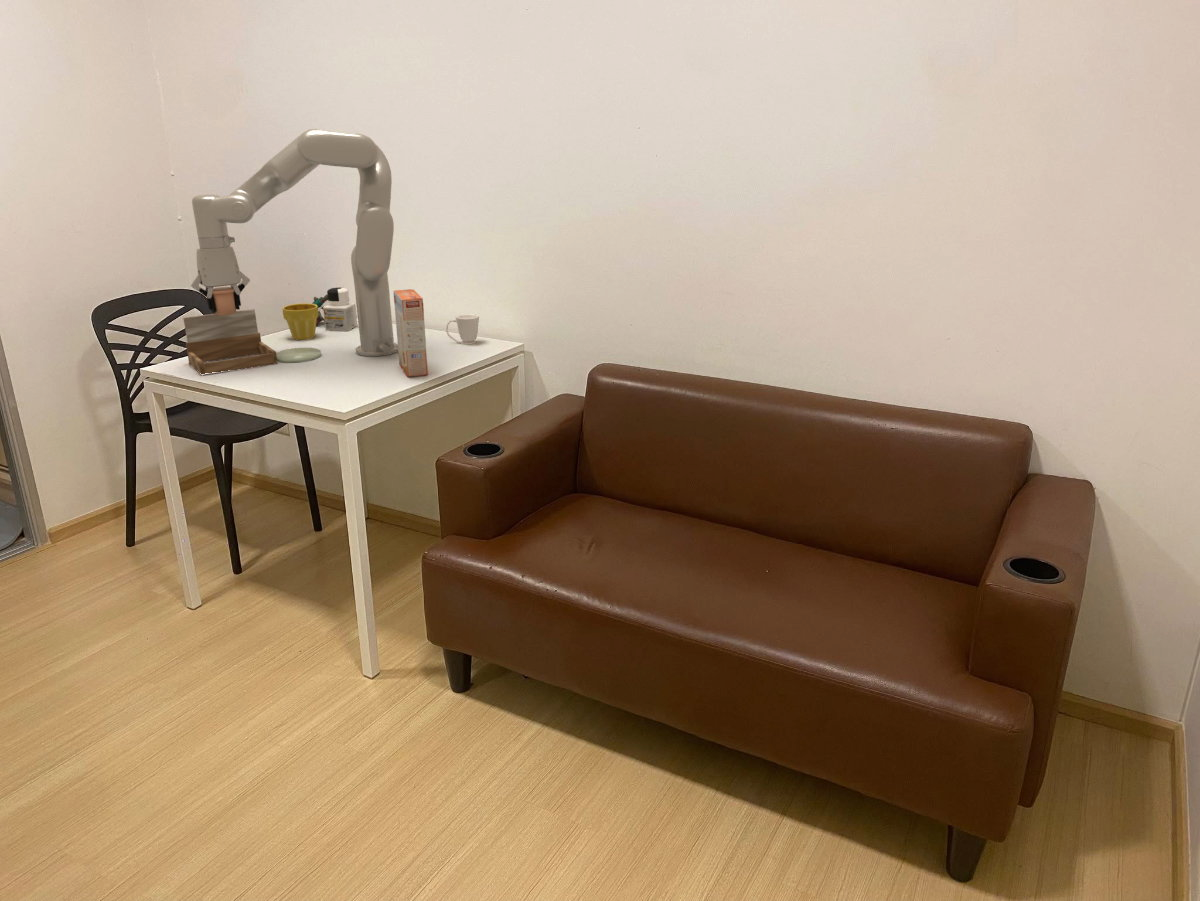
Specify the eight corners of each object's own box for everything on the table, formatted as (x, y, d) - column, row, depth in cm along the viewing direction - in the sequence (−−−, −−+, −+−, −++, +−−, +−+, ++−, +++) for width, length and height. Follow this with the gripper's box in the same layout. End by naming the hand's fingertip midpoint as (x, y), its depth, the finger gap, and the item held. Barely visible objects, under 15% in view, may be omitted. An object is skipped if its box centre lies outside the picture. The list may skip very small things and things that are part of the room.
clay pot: (240, 313, 242) (236, 289, 240) (216, 316, 239) (212, 292, 237) (234, 309, 247) (230, 286, 245) (211, 312, 244) (207, 288, 241)
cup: (479, 345, 266) (478, 318, 263) (446, 346, 265) (444, 319, 262) (481, 339, 273) (479, 313, 270) (448, 340, 272) (446, 314, 269)
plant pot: (315, 341, 271) (311, 310, 268) (281, 341, 272) (277, 310, 268) (325, 333, 281) (321, 303, 278) (293, 333, 281) (289, 303, 278)
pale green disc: (327, 357, 253) (327, 354, 253) (282, 365, 246) (281, 361, 246) (312, 348, 263) (312, 345, 263) (268, 355, 256) (267, 352, 256)
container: (325, 330, 285) (320, 290, 280) (335, 325, 292) (331, 285, 287) (347, 331, 284) (343, 291, 279) (358, 326, 291) (353, 286, 286)
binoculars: (324, 327, 298) (304, 303, 295) (346, 312, 297) (326, 287, 294) (318, 334, 290) (298, 309, 286) (341, 318, 289) (321, 293, 285)
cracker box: (429, 375, 236) (423, 297, 228) (406, 378, 234) (400, 299, 226) (420, 362, 248) (414, 288, 241) (398, 364, 246) (392, 289, 239)
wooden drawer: (277, 363, 248) (271, 317, 243) (202, 375, 237) (193, 327, 232) (261, 352, 259) (255, 308, 255) (189, 363, 248) (181, 317, 244)
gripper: (243, 238, 244) (253, 304, 250) (176, 244, 235) (189, 312, 241) (251, 241, 238) (261, 308, 245) (183, 247, 229) (195, 317, 235)
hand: (225, 309), depth 243 cm, fingers closed on clay pot, 5 cm apart
